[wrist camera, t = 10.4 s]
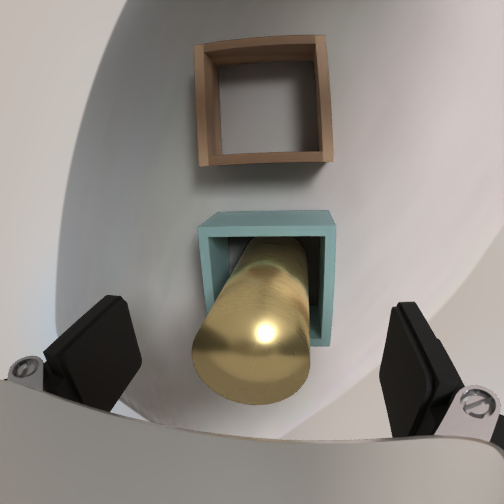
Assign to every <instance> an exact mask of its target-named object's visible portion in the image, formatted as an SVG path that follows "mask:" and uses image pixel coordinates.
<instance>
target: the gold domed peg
mask: <svg viewBox="0 0 504 504" xmlns="http://www.w3.org/2000/svg"><path fill="white" fill-rule="evenodd" d="M192 360H193V364H194V367H195V369H196V371H197V373H198V375H199V376H200V378H201V379H202V380H203V382H204V383H205V384H206V385H207V386H208V387H210V388H211V389H212V390H213V391H215V392H216V393H218V394H219V395H221V396H223V397H225V398H227V399H229V400H232V401H235V402H238V403H243V404H250V405H265V404H271V403H275V402H279V401H281V400H284V399H286V398H288V397H290V396H291V395H293V394H294V393H295V392H297V391H298V390H299V389H300V388H301V386H302V385H303V384H304V382H305V380H306V379H307V376H308V373H309V369H310V327H309V294H308V270H307V257H306V254H305V251H304V249H303V247H302V246H301V244H300V243H299V242H298V241H297V240H296V239H294V238H293V237H291V236H257V237H255V238H254V239H253V240H252V241H251V242H250V243H249V244H248V245H247V247H246V249H245V250H244V252H243V254H242V256H241V257H240V259H239V261H238V263H237V264H236V266H235V268H234V270H233V271H232V273H231V275H230V277H229V278H228V280H227V282H226V284H225V285H224V287H223V289H222V291H221V292H220V294H219V296H218V298H217V299H216V301H215V303H214V305H213V306H212V308H211V310H210V312H209V313H208V315H207V317H206V319H205V321H204V322H203V324H202V326H201V328H200V329H199V331H198V333H197V335H196V337H195V339H194V341H193V346H192Z"/></svg>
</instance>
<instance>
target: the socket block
mask: <svg viewBox="0 0 504 504" xmlns="http://www.w3.org/2000/svg"><path fill="white" fill-rule="evenodd" d="M295 60H314V72H315V85H316V100H317V117H318V137H319V152H269V153H246V154H230V155H222V138H221V119H220V98H219V74H218V66H226V65H234V64H244V63H256V62H271V61H295ZM194 66H195V96H196V119H197V139H198V156H199V167H201V166H215V165H230V164H249V163H276V162H333V133H332V113H331V97H330V84H329V71H328V60H327V50H326V41H325V35H288V36H268V37H255V38H244V39H235V40H227V41H219V42H212V43H206V44H200V45H194Z"/></svg>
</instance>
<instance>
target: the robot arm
mask: <svg viewBox="0 0 504 504" xmlns="http://www.w3.org/2000/svg"><path fill="white" fill-rule="evenodd" d="M43 353H44V355H45V357H46V360H47V361H46V362H45V363H43V360H42V359H41V358H39V357H37V356H27V357H24V358H21V359H19V360H18V361H16V362H15V363H14V364H13V365H12V366H11V367H10V369H9V373H8V379H4V380H0V504H504V416H503V415H500V414H499V413H500V407H501V404H500V401H499V399H498V397H497V395H496V394H495V393H494V392H492V391H491V390H490V389H488V388H486V387H482V386H478V385H470V386H466V387H465V386H464V384H463V382H462V380H461V378H460V376H459V374H458V372H457V371H456V369H455V367H454V365H453V363H452V361H451V359H450V358H449V356H448V354H447V352H446V350H445V349H444V347H443V345H442V343H441V342H440V340H439V339H437V338H436V336H435V335H434V333H433V331H432V330H431V328H430V326H429V324H428V323H427V321H426V319H425V318H424V316H423V314H422V313H421V311H420V309H419V308H418V306H417V304H416V303H415V302H399V303H398V304H397V307H392V310H391V315H390V321H389V327H388V332H387V338H386V343H385V348H384V353H383V357H382V362H381V366H380V372H379V378H380V383H381V387H382V391H383V395H384V400H385V404H386V408H387V413H388V417H389V422H390V427H391V432H392V436H393V438H381V439H363V440H317V441H314V440H311V441H309V440H281V439H264V438H252V437H241V436H232V435H223V434H215V433H208V432H201V431H195V430H188V429H183V428H177V427H172V426H166V425H161V424H157V423H152V422H147V421H143V420H138V419H134V418H130V417H126V416H122V415H118V414H115V413H111V412H110V411H111V410H112V408H113V407H114V405H115V404H116V402H117V401H118V399H119V398H120V396H121V395H122V393H123V392H124V390H125V389H126V387H127V386H128V385H129V383H130V382H131V380H132V379H133V377H134V376H135V374H136V373H137V371H138V370H139V368H140V367H141V364H142V358H141V354H140V351H139V347H138V344H137V340H136V336H135V333H134V329H133V325H132V321H131V317H130V313H129V309H128V305H127V302H126V301H125V300H123V298H122V297H121V296H113V295H106V296H105V297H104V298H103V299H101V300H100V301H99V302H98V303H97V304H96V305H94V306H93V307H92V308H91V309H90V310H89V311H88V312H86V313H85V314H84V315H83V316H82V317H81V318H80V319H79V320H77V321H76V322H75V323H74V324H73V325H72V326H71V327H70V328H69V329H67V330H66V331H65V332H64V333H63V334H62V335H61V336H60V337H59V338H58V339H56V340H55V341H54V342H53V343H52V344H51V345H50V346H49V347H48V348H47V349H46V350H45V351H44V352H43Z"/></svg>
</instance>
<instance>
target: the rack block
mask: <svg viewBox="0 0 504 504" xmlns="http://www.w3.org/2000/svg"><path fill="white" fill-rule="evenodd" d="M197 228H198V239H199V249H200V259H201V269H202V278H203V287H204V295H205V304H206V312H207V315H208V313H209V312H210V310H211V308H212V306H213V305H214V303H215V301H216V299H217V298H218V296H219V294H220V292H221V291H222V289H223V287H224V285H225V284H226V282H227V280H228V278H229V277H230V262H229V249H228V237H246V236H320V275H319V304H318V305H309V327H310V346H330V339H331V326H332V313H333V297H334V278H335V253H336V224H335V222H334V220H333V218H332V216H331V214H330V212H329V210H300V211H240V212H217V213H216V214H215V215H213V216H212V217H211V218H209V219H208V220H206V221H205V222H204V223H202V224H201V225H200V226H198V227H197Z"/></svg>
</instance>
